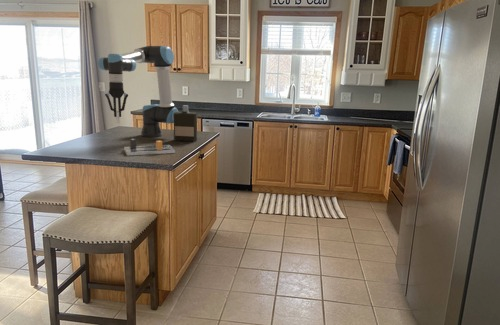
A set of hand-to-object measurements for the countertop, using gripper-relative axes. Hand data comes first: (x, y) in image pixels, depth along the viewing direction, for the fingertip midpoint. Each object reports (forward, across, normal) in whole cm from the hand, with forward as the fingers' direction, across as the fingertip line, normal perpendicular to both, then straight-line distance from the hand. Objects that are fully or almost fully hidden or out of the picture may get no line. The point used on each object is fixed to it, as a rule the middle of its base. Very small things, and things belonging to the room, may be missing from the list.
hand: (118, 122), depth 212 cm
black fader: (+16, +8, 0) cm, 18 cm away
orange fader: (+16, +22, -9) cm, 28 cm away
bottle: (+18, +47, +25) cm, 56 cm away
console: (+18, +17, -4) cm, 25 cm away
